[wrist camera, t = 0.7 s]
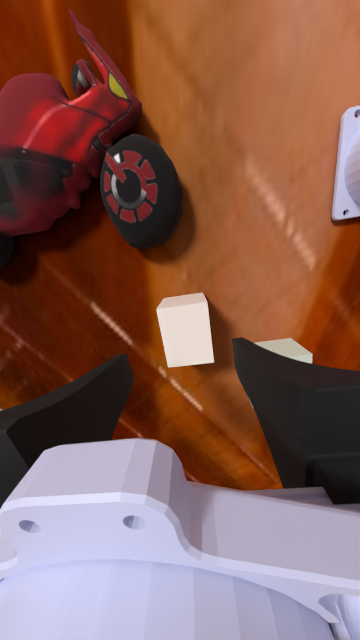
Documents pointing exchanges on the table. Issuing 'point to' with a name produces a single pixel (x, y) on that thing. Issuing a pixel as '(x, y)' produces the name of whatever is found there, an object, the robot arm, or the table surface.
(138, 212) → the toy motorcycle
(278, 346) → the sage base brick
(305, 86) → the table surface
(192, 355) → the cream brick
